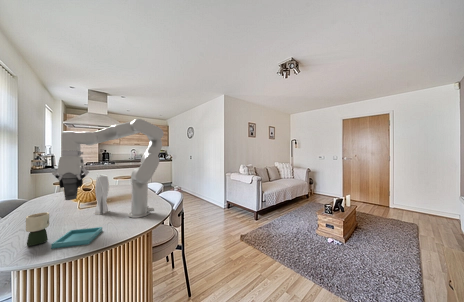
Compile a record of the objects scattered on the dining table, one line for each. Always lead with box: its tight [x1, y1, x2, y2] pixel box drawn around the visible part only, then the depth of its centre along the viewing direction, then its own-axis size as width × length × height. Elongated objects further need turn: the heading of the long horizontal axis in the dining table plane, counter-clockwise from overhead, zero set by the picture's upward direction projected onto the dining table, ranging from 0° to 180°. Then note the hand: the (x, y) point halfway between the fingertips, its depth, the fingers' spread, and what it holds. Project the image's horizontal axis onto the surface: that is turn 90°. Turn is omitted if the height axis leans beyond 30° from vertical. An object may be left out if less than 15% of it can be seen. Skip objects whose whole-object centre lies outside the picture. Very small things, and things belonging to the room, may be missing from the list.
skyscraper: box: [93, 172, 111, 216], centre depth 118 cm, size 8×8×28 cm
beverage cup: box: [62, 173, 79, 201], centre depth 93 cm, size 7×7×20 cm
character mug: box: [25, 211, 50, 247], centre depth 78 cm, size 11×7×13 cm, turn 64°
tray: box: [50, 226, 103, 249], centre depth 82 cm, size 14×14×2 cm
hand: (71, 186), depth 93 cm, fingers closed on beverage cup, 6 cm apart
